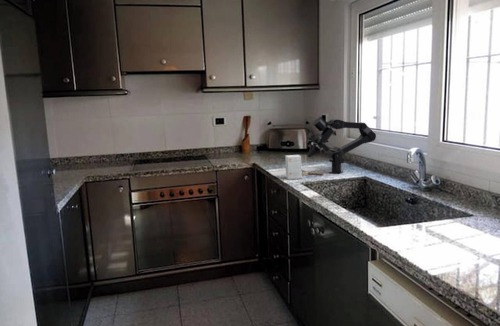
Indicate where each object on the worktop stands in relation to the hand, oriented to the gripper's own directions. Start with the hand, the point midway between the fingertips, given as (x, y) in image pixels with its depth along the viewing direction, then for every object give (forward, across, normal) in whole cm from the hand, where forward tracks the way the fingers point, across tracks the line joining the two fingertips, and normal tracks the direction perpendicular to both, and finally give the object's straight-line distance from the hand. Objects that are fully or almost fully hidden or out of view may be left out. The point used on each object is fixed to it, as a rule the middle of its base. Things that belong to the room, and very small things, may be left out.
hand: (308, 156), depth 217 cm
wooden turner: (+6, -4, +10) cm, 13 cm away
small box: (+15, 0, +2) cm, 15 cm away
